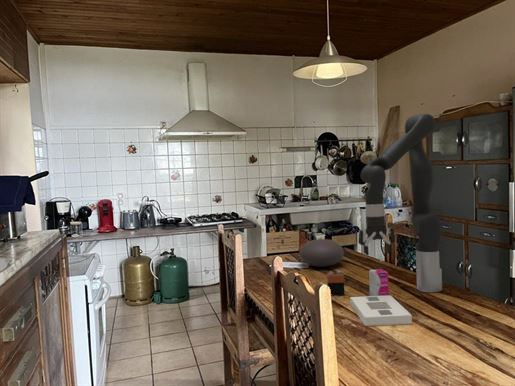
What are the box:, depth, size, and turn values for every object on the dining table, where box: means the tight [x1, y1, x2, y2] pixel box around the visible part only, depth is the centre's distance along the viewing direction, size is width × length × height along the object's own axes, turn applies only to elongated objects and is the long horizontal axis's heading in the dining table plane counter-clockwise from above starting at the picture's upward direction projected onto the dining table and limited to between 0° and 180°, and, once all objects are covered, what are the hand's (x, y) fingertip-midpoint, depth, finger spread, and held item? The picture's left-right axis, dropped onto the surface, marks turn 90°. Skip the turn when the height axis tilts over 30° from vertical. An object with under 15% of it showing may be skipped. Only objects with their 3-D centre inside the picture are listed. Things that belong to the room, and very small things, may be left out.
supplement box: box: [368, 268, 390, 296], centre depth 163 cm, size 6×6×12 cm
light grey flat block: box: [349, 294, 413, 327], centre depth 146 cm, size 16×22×3 cm
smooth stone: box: [298, 238, 345, 268], centre depth 223 cm, size 25×25×15 cm
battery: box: [326, 270, 346, 297], centre depth 171 cm, size 4×7×10 cm, turn 85°
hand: (377, 253), depth 162 cm, fingers open, 8 cm apart
